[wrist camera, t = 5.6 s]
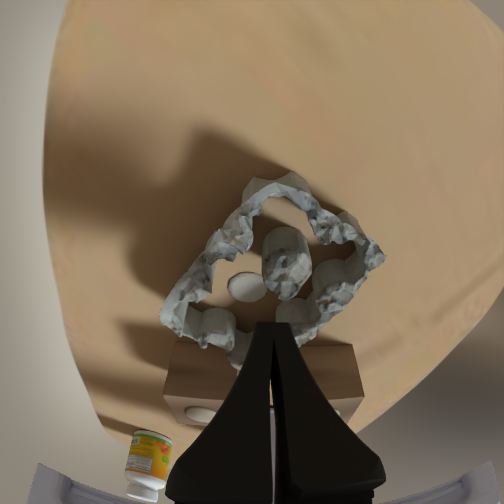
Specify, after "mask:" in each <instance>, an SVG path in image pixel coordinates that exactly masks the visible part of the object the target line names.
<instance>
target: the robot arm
mask: <svg viewBox="0 0 504 504" xmlns="http://www.w3.org/2000/svg"><path fill="white" fill-rule="evenodd" d="M270 379H271V389H272V398H273V408H270ZM385 481H386V474H385V471H384V467H383V464H382V462H381V460H380V458H379V456H377V454H375V453H374V452H373V451H372V450H371V449H370V448H369V447H368V446H366V444H364V443H363V442H362V441H361V440H360V439H359V438H358V436H357V435H356V434H355V433H354V432H353V431H352V430H351V429H350V428H349V427H348V425H347V424H346V423H345V422H344V421H343V420H342V418H341V417H340V416H339V415H338V414H337V412H336V411H335V410H334V408H333V407H332V406H331V404H330V403H329V401H328V400H327V399H326V397H325V396H324V394H323V393H322V391H321V389H320V388H319V386H318V385H317V383H316V381H315V379H314V378H313V376H312V374H311V372H310V370H309V369H308V367H307V365H306V363H305V360H304V358H303V356H302V354H301V352H300V350H299V347H298V345H297V343H296V340H295V337H294V335H293V332H292V328H291V324H289V323H288V322H257V323H255V325H254V332H253V337H252V340H251V344H250V347H249V350H248V353H247V355H246V358H245V360H244V363H243V365H242V368H241V370H240V372H239V374H238V376H237V378H236V380H235V382H234V384H233V386H232V388H231V390H230V392H229V393H228V395H227V397H226V399H225V400H224V402H223V403H222V405H221V407H220V408H219V410H218V411H217V413H216V414H215V416H214V417H213V418H212V420H211V421H210V423H209V424H208V425H207V426H206V428H205V429H204V430H203V431H202V433H201V434H200V435H199V436H198V438H197V439H196V440H195V441H194V442H193V443H192V445H191V446H190V447H189V448H188V449H187V450H186V451H185V452H184V453H183V454H182V455H181V456H180V457H179V458H178V459H177V461H176V463H175V464H174V466H173V468H172V470H171V472H170V474H169V477H168V480H167V484H166V491H165V495H166V496H167V497H168V498H169V499H171V500H173V501H174V502H175V504H372V498H373V497H374V491H373V489H375V488H377V487H378V486H380V485H382V484H383V483H384V482H385ZM500 502H501V500H500V495H499V490H498V485H497V481H496V477H495V473H494V469H493V465H492V461H488V462H486V463H484V464H482V465H480V466H478V467H476V468H474V469H472V470H470V471H468V472H466V473H465V474H463V475H462V476H460V477H458V478H456V479H453V480H451V481H448V482H446V483H443V484H441V485H438V486H436V487H433V488H430V489H427V490H425V491H422V492H419V493H416V494H413V495H409V496H407V497H403V498H400V499H396V500H392V501H389V502H385V503H380V504H499V503H500ZM27 504H145V503H141V502H137V501H133V500H130V499H126V498H123V497H119V496H116V495H112V494H110V493H106V492H103V491H101V490H97V489H95V488H92V487H89V486H87V485H84V484H81V483H79V482H76V481H74V480H71V479H70V478H69V477H67V476H65V475H63V474H61V473H59V472H57V471H55V470H53V469H51V468H49V467H47V466H44V465H43V464H41V463H38V465H37V468H36V472H35V475H34V478H33V482H32V485H31V489H30V493H29V497H28V501H27Z"/></svg>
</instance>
